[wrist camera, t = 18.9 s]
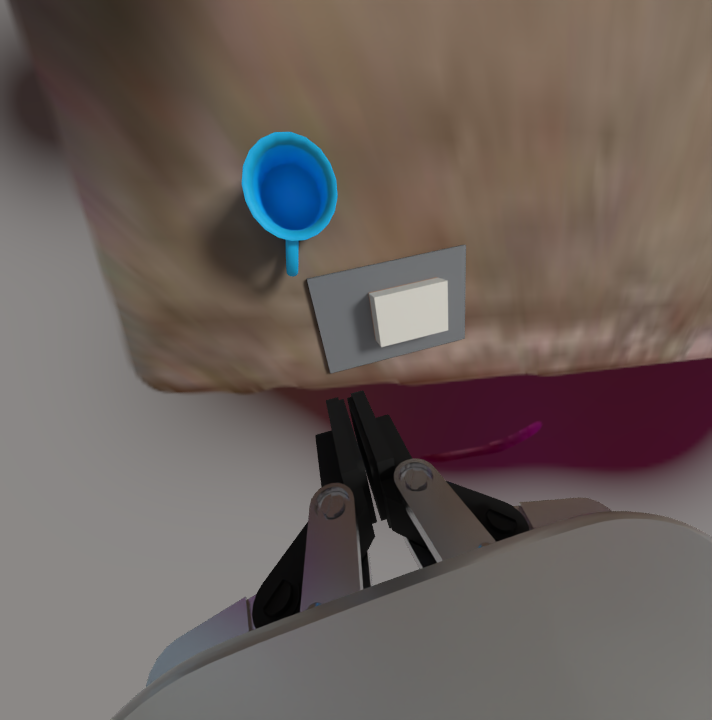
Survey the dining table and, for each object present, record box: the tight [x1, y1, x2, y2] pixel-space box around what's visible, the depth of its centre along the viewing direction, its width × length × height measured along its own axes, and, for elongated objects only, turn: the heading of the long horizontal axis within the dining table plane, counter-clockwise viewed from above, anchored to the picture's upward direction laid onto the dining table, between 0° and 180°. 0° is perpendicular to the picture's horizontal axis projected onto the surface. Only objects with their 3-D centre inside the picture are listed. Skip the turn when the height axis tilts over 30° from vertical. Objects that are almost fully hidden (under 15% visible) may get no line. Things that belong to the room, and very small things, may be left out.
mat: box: [307, 245, 466, 373], centre depth 39 cm, size 14×22×1 cm, turn 101°
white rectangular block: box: [368, 277, 448, 347], centre depth 38 cm, size 7×3×10 cm
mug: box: [242, 132, 337, 276], centre depth 28 cm, size 12×8×8 cm
